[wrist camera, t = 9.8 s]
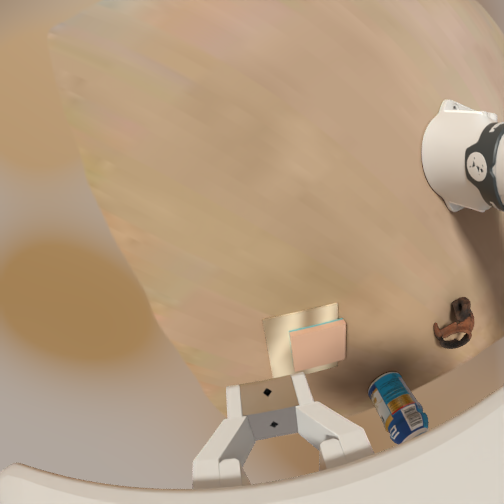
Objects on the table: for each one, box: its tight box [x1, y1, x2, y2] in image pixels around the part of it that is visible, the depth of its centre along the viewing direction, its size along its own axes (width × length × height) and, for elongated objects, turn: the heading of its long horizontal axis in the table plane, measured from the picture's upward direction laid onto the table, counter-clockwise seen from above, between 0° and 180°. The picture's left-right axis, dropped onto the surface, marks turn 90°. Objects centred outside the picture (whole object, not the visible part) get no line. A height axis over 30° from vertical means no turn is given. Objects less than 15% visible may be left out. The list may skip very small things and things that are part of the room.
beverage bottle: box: [368, 372, 429, 444], centre depth 44 cm, size 8×8×20 cm
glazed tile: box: [289, 318, 346, 372], centre depth 45 cm, size 2×8×9 cm
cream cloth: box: [262, 303, 338, 378], centre depth 46 cm, size 12×14×1 cm
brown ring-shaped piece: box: [434, 297, 474, 349], centre depth 47 cm, size 12×10×8 cm
